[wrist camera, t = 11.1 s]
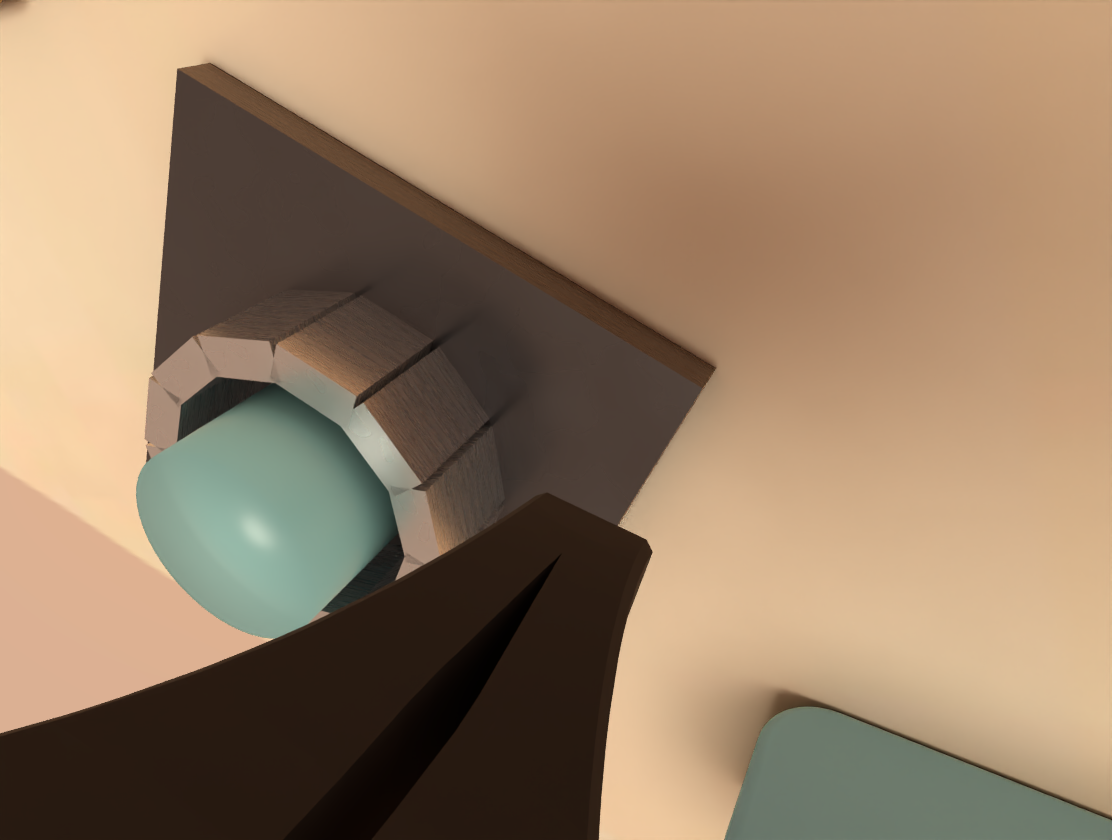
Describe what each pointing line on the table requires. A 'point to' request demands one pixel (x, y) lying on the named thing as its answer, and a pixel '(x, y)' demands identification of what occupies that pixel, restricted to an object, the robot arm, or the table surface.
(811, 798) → the data package
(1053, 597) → the table surface
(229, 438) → the teal rounded cylinder
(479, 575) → the robot arm
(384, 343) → the square base ring holder
